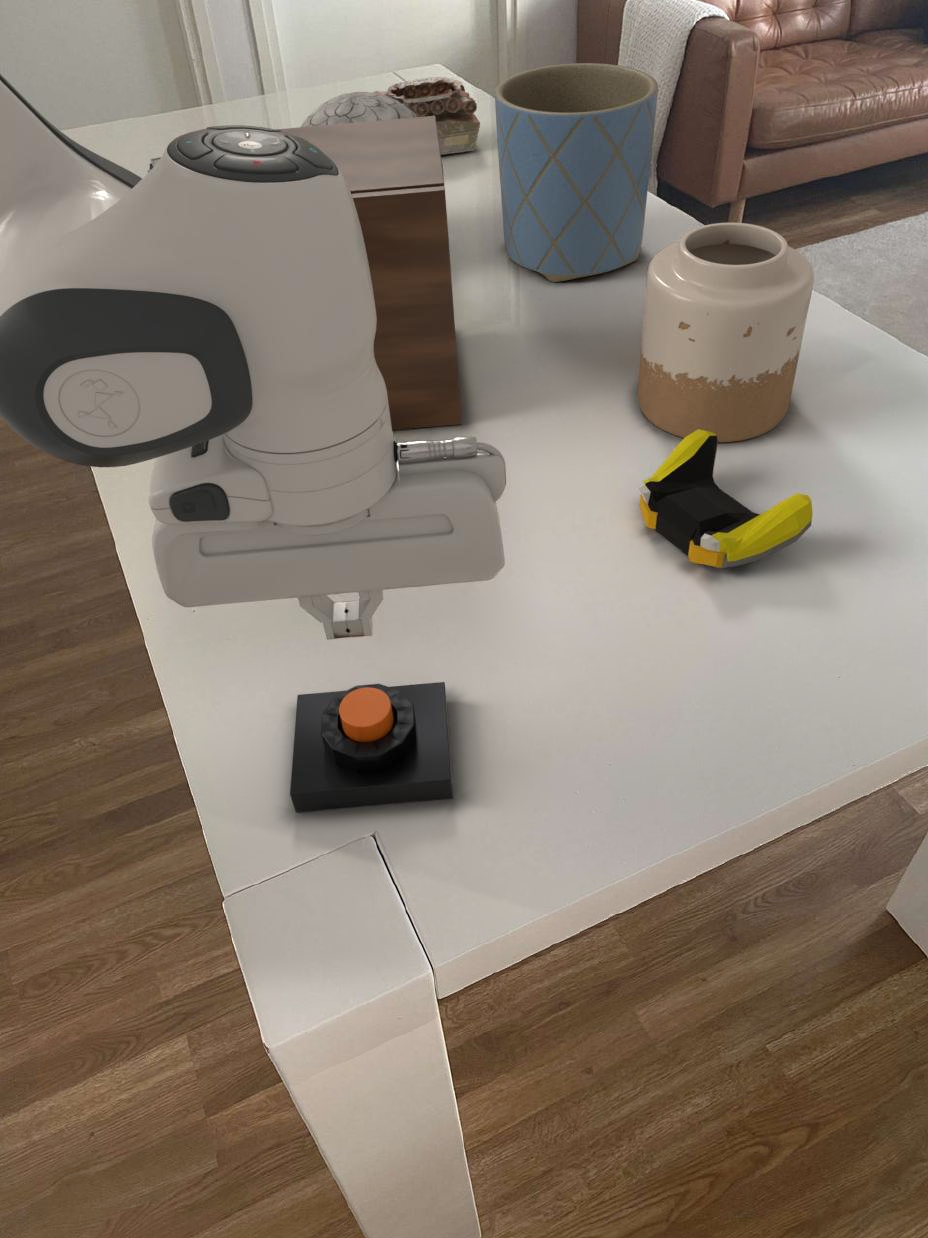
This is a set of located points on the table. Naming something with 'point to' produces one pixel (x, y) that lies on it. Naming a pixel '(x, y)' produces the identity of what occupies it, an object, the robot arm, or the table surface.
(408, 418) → the cupboard door
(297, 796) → the control block
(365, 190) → the cupboard
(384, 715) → the button
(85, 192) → the robot arm
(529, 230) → the planter
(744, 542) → the gaming controller
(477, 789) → the table surface
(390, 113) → the decorative sphere
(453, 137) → the tank model
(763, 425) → the vase
